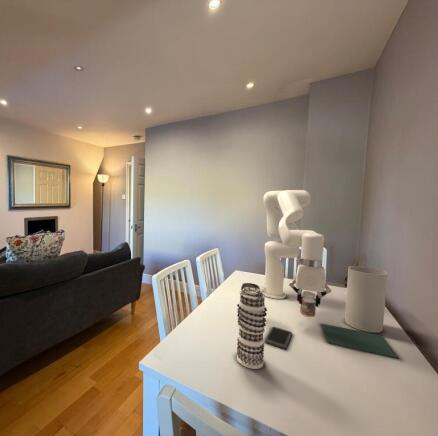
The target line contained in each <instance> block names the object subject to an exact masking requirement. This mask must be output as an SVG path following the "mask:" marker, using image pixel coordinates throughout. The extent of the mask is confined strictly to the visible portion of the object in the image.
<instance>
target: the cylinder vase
mask: <svg viewBox="0 0 438 436" xmlns="http://www.w3.org/2000/svg"><path fill="white" fill-rule="evenodd" d="M387 283H388V272H387V271H386V270H383V269H379V268H374V267H371V266H370V267H369V266H361V265H351V266H348V267H347V281H346V295H345V296H346V298H345V312H344V322H345V323H346V324H347V325H348V326H350V327H352V328H354V329H355V330H358V331H362V332H367V333H372V334H377V333H381V332H383V330H384V321H385V308H386V297H387Z"/></svg>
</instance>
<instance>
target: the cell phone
mask: <svg viewBox="0 0 438 436" xmlns="http://www.w3.org/2000/svg"><path fill="white" fill-rule="evenodd" d="M292 334H293V333H292V331H290V330H287V329H284V328H280V327H276V326H271V328H270V330H269V331H268V334H267V335H266V337H265V339H264V343H266V344H268V345H272V346H274V347H277V348H281V349H284V350H286V349H287V347H288V345H289V342H290V340H291V337H292Z"/></svg>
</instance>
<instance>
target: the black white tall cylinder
mask: <svg viewBox="0 0 438 436" xmlns="http://www.w3.org/2000/svg"><path fill="white" fill-rule="evenodd" d="M238 292H239V294H240V296H239V303H237V305H236V306H237V311H236V312H237V327H238V336H237V339H236V340H237V344H236V345H237V346H236V360H237V362H238V363H239V364H240V365H241V366H243V367H246V368H248V369H252V370H254V369H255V370H256V369H257V370H258V369H261V368H263V366H264V361H265V360H264V357H265V353H264V352H265V342H264V333H265V330H266V329H265V327H266V322H267V320H266V316H267V315H268V313H267V311H268V308H267V307H266V305H265V300H266V296H265V294H263V293H262V290H259V289H257V288H254V287H245V288H244V289H242V290H241V289H240V291H238Z"/></svg>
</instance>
